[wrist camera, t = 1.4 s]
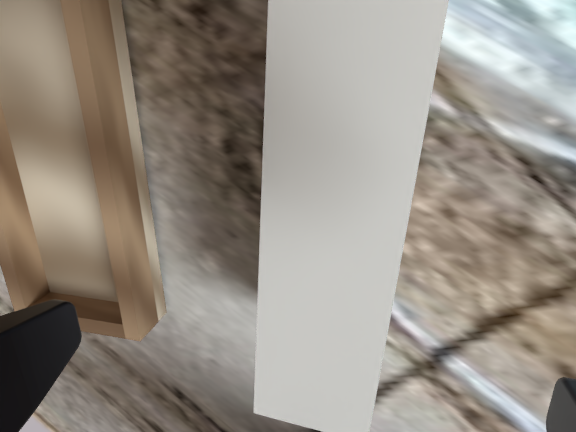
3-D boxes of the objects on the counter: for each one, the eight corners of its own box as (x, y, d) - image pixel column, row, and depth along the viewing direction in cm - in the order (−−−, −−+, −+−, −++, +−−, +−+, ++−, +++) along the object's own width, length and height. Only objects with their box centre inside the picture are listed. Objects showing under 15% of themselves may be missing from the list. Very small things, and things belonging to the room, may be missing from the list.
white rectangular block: (379, 333, 19) (367, 443, 14) (294, 315, 20) (253, 413, 15) (439, -10, 14) (456, -44, 9) (320, -15, 15) (269, -47, 10)
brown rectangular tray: (166, 312, 22) (140, 341, 20) (52, 295, 24) (16, 319, 22) (109, -78, 16) (62, -98, 14) (-41, -63, 18) (-104, -78, 15)
